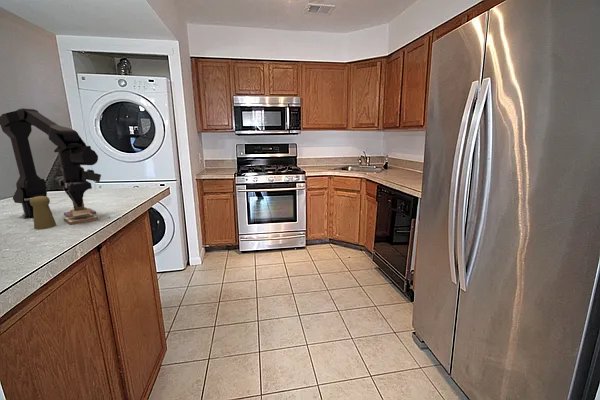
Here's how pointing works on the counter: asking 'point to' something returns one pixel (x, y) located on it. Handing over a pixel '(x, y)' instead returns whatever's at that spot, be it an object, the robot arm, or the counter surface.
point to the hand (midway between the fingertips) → (78, 206)
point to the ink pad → (72, 216)
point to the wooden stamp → (79, 210)
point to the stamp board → (81, 219)
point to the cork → (42, 213)
